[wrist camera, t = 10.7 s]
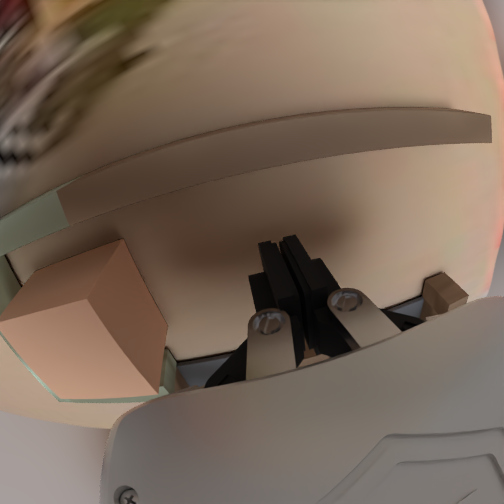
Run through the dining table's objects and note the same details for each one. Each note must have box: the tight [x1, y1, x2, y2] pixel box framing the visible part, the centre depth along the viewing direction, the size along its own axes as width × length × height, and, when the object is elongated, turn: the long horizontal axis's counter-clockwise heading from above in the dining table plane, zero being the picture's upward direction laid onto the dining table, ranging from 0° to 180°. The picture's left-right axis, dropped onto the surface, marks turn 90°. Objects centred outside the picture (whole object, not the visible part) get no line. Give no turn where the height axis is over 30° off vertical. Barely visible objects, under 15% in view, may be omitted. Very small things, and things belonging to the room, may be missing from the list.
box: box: [0, 107, 492, 403], centre depth 14 cm, size 18×30×3 cm, turn 102°
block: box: [0, 239, 168, 399], centre depth 12 cm, size 6×7×5 cm
